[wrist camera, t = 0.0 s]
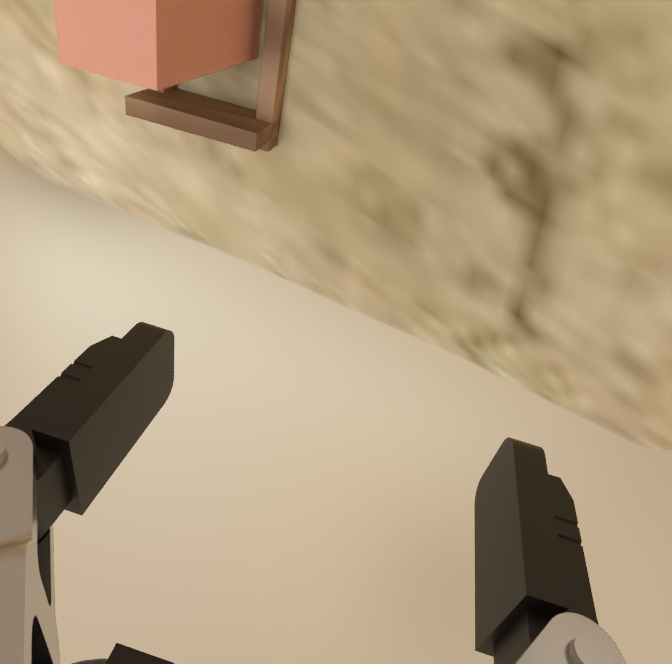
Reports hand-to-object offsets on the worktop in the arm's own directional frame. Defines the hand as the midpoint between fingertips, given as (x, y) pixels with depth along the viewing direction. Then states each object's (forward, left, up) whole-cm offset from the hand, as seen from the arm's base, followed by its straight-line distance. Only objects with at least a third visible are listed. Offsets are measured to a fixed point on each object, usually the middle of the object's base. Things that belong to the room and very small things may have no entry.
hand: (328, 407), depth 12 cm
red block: (-4, -15, -29) cm, 33 cm away
